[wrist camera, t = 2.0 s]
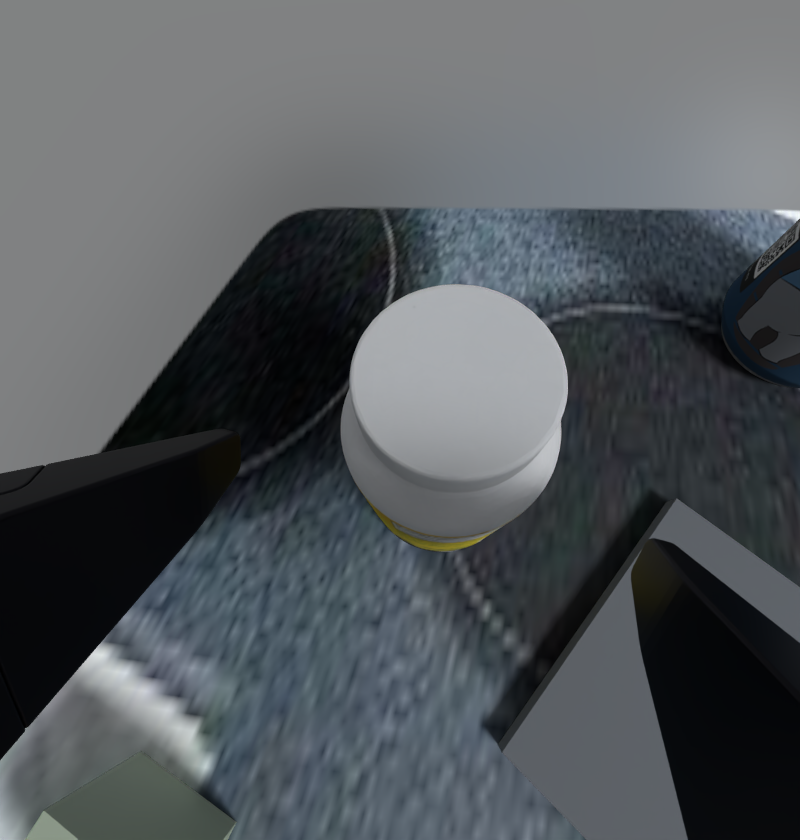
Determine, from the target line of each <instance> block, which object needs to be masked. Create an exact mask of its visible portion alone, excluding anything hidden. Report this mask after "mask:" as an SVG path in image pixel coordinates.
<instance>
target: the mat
mask: <svg viewBox="0 0 800 840" xmlns="http://www.w3.org/2000/svg"><path fill="white" fill-rule="evenodd" d="M651 538H656V539H660V540H664V541H668V542H671V543H674V544H675V545H676V546H678V547H679V548H680V549H681V550H683V551H684V552H685V553H687V554H688V555H689V556H690V557H692V558H693V559H694V560H695V561H697V562H698V563H699V564H701V565H702V566H703V567H704V568H706V569H707V570H708V571H709V572H711V573H712V574H713V575H714V576H716V577H717V578H718V579H720V580H721V581H722V582H723V583H725V584H726V585H727V586H728V587H730V588H731V589H732V590H734V591H735V592H736V593H737V594H739V595H740V596H741V597H742V598H744V599H745V600H746V601H747V602H749V603H750V604H751V605H753V606H754V607H755V608H756V609H758V610H759V611H760V612H761V613H763V614H764V615H765V616H767V617H768V618H769V619H770V620H772V621H773V622H774V623H775V624H777V625H778V626H779V627H780V628H782V629H783V630H784V631H786V632H787V633H788V634H789V635H791V636H792V637H793V638H794V639H796V640H797V641H798V642H800V587H799V586H797V585H796V584H794V583H793V582H792V581H790V580H789V579H788V578H786V577H785V576H783V575H782V574H781V573H779V572H778V571H776V570H775V569H774V568H772V567H771V566H770V565H768V564H767V563H765V562H764V561H763V560H761V559H760V558H758V557H757V556H756V555H754V554H753V553H752V552H750V551H749V550H747V549H746V548H745V547H743V546H742V545H740V544H739V543H738V542H736V541H735V540H734V539H732V538H731V537H729V536H728V535H727V534H725V533H724V532H722V531H721V530H720V529H718V528H717V527H716V526H714V525H713V524H711V523H710V522H709V521H707V520H706V519H704V518H703V517H702V516H700V515H699V514H698V513H696V512H695V511H693V510H692V509H691V508H689V507H688V506H686V505H685V504H684V503H682V502H681V501H680V500H678V499H674V500H671V501H668V502H666V503H665V505H664V506H663V507H662V509H661V510H660V512H659V513H658V515H657V516H656V518H655V519H654V520H653V522H652V523H651V525H650V526H649V528H648V529H647V531H646V532H645V533H644V535H643V536H642V538H641V539H640V541H639V542H638V543H637V545H636V546H635V548H634V549H633V551H632V552H631V554H630V555H629V556H628V558H627V559H626V561H625V562H624V564H623V565H622V567H621V568H620V569H619V571H618V572H617V574H616V575H615V577H614V578H613V579H612V581H611V582H610V584H609V585H608V587H607V588H606V590H605V591H604V592H603V594H602V595H601V597H600V598H599V600H598V601H597V603H596V604H595V605H594V607H593V608H592V610H591V611H590V613H589V614H588V615H587V617H586V618H585V620H584V621H583V623H582V624H581V626H580V627H579V628H578V630H577V631H576V633H575V634H574V636H573V637H572V639H571V640H570V641H569V643H568V644H567V646H566V647H565V649H564V650H563V651H562V653H561V654H560V656H559V657H558V659H557V660H556V662H555V663H554V664H553V666H552V667H551V669H550V670H549V672H548V673H547V675H546V676H545V677H544V679H543V680H542V682H541V683H540V685H539V686H538V687H537V689H536V690H535V692H534V693H533V695H532V696H531V698H530V699H529V700H528V702H527V703H526V705H525V706H524V708H523V709H522V711H521V712H520V713H519V715H518V716H517V718H516V719H515V721H514V722H513V724H512V725H511V726H510V728H509V729H508V731H507V732H506V734H505V735H504V736H503V738H502V739H501V741H500V742H499V744H498V745H499V747H500V749H501V752H502V753H503V754H504V755H505V756H506V757H507V758H508V759H509V760H510V761H511V762H512V763H513V764H514V765H515V766H516V768H517V769H518V770H519V771H520V772H521V773H522V774H523V775H524V776H525V777H526V778H527V779H528V780H529V781H530V782H531V783H532V784H533V785H534V786H535V787H536V788H537V789H538V790H539V791H540V792H541V793H542V794H543V795H544V796H545V797H546V798H547V800H548V801H549V802H550V803H551V804H552V805H553V806H554V807H555V808H556V809H557V810H558V811H559V812H560V813H561V814H562V815H563V816H564V817H565V818H566V819H567V820H568V821H569V822H570V823H571V824H572V825H573V826H574V827H575V828H576V829H577V830H578V831H579V833H580V834H581V835H582V836H583V837H584V838H585V839H586V840H688V839H687V835H686V831H685V827H684V823H683V819H682V815H681V811H680V807H679V803H678V799H677V795H676V791H675V787H674V783H673V779H672V775H671V771H670V767H669V763H668V759H667V755H666V751H665V747H664V743H663V739H662V735H661V731H660V727H659V723H658V719H657V715H656V711H655V707H654V703H653V699H652V695H651V691H650V687H649V683H648V679H647V675H646V671H645V667H644V663H643V659H642V654H641V650H640V644H639V637H638V630H637V622H636V615H635V607H634V600H633V592H632V585H631V571H632V568H633V566H634V564H635V562H636V560H637V558H638V556H639V554H640V552H641V550H642V548H643V547H644V545H645V543H646V542H647V541H648V540H649V539H651Z"/></svg>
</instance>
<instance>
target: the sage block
mask: <svg viewBox="0 0 800 840" xmlns="http://www.w3.org/2000/svg"><path fill="white" fill-rule="evenodd" d="M235 824H236V821H234V820H233V819H232V818H230V817H229V816H228V815H226V814H225V813H224V812H222V811H221V810H220V809H218V808H217V807H216V806H214V805H213V804H212V803H210V802H209V801H208V800H206V799H205V798H204V797H202V796H201V795H200V794H198V793H197V792H196V791H194V790H193V789H192V788H190V787H189V786H188V785H186V784H185V783H184V782H182V781H181V780H180V779H178V778H177V777H176V776H174V775H173V774H171V773H170V772H169V771H167V770H166V769H165V768H163V767H162V766H161V765H159V764H158V763H157V762H155V761H154V760H153V759H151V758H150V757H149V756H147V755H146V754H145V753H143V752H142V751H140V752H139V753H137V754H135V755H134V756H132V757H130V758H129V759H127V760H126V761H124V762H122V763H121V764H119V765H117V766H116V767H114V768H112V769H111V770H109V771H107V772H106V773H104V774H103V775H101V776H99V777H98V778H96V779H94V780H93V781H91V782H89V783H88V784H86V785H84V786H83V787H81V788H79V789H78V790H76V791H75V792H73V793H71V794H70V795H68V796H66V797H65V798H63V799H61V800H60V801H58V802H56V803H55V804H53V805H52V806H50V807H48V808H47V809H45V810H43V812H42V814H41V815H40V817H39V818H38V820H37V822H36V823H35V825H34V826H33V828H32V829H31V831H30V833H29V834H28V836H27V837H26V839H25V840H228V838H229V836H230V834H231V832H232V830H233V828H234V826H235Z"/></svg>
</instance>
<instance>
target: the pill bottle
mask: <svg viewBox="0 0 800 840" xmlns="http://www.w3.org/2000/svg"><path fill="white" fill-rule="evenodd" d="M349 386H350V388H349V390H348V393H347V396H346V399H345V402H344V406H343V410H342V416H341V443H342V449H343V453H344V457H345V460H346V463H347V466H348V468H349V471H350V473H351V475H352V477H353V480H354V481H355V483H356V485H357V487H358V488H359V490H360V491H361V492H362V494H363V495H364V497H365V498H366V500H367V501H368V503H369V504H370V505H371V507H372V508H373V509H374V511H375V512H376V514H377V515H378V516H379V518H380V519H381V520H382V521H383V523H384V524H385V525H386V526H387V527H388V528H389V529H390V530H391V531H392V532H393V533H394V534H395V535H396V536H397V537H399V538H400V539H401V540H403V541H405V542H406V543H408V544H410V545H413V546H415V547H417V548H420V549H424V550H428V551H434V552H448V551H455V550H459V549H463V548H466V547H469V546H471V545H473V544H475V543H477V542H479V541H481V540H482V539H484V538H485V537H487V536H488V535H490V534H491V533H493V532H494V531H496V530H497V529H499V528H500V527H502V526H504V525H505V524H507V523H509V522H510V521H512V520H513V519H514V518H516V517H517V516H519V515H520V514H521V513H522V512H524V511H525V510H526V509H527V508H528V507H529V506H530V505H531V504H532V503H533V502H534V501H535V500H536V499H537V497H538V496H539V495H540V493H541V492H542V491H543V490H544V488H545V486H546V485H547V483H548V481H549V479H550V477H551V475H552V473H553V471H554V468H555V465H556V462H557V459H558V454H559V450H560V443H561V418H562V415H563V412H564V409H565V405H566V401H567V394H568V378H567V370H566V365H565V362H564V358H563V355H562V352H561V350H560V348H559V346H558V343H557V342H556V340H555V338H554V336H553V335H552V333H551V332H550V330H549V329H548V328H547V326H546V325H545V324H544V323H543V322H542V321H541V320H540V319H539V318H538V317H537V316H536V315H535V314H534V313H533V312H532V311H531V310H530V309H528V308H527V307H525V306H524V305H523V304H521V303H520V302H518V301H517V300H515V299H513V298H511V297H509V296H507V295H505V294H502V293H500V292H497V291H494V290H491V289H488V288H484V287H480V286H473V285H461V284H451V285H440V286H434V287H429V288H426V289H422V290H419V291H416V292H413V293H410V294H408V295H406V296H404V297H402V298H401V299H399V300H397V301H395V302H394V303H392V304H391V305H390V306H388V307H387V308H386V309H384V310H383V311H382V312H381V313H380V314H379V315H378V316H377V317H376V318H375V319H374V320H373V321H372V322H371V324H370V325H369V326H368V327H367V329H366V330H365V332H364V333H363V335H362V336H361V338H360V340H359V342H358V344H357V347H356V349H355V352H354V355H353V358H352V362H351V368H350V379H349Z"/></svg>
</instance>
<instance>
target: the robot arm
mask: <svg viewBox="0 0 800 840" xmlns="http://www.w3.org/2000/svg"><path fill="white" fill-rule="evenodd" d="M240 465H241V446H240V436H239V434H238V433H237V432H235V431H231V430H227V429H215V430H210V431H206V432H201V433H196V434H191V435H186V436H181V437H177V438H172V439H167V440H162V441H157V442H152V443H148V444H143V445H138V446H133V447H128V448H123V449H119V450H114V451H109V452H104V453H99V454H94V455H90V456H85V457H80V458H75V459H70V460H65V461H61V462H56V463H51V464H48V465H46V466H43V465H41V466H36V467H31V468H26V469H21V470H17V471H11V472H6V473H2V474H0V760H1V759H2V757H3V756H4V755H5V754H6V753H7V752H8V750H9V749H10V748H11V747H12V746H13V745H14V743H15V742H16V741H17V740H18V739H19V738H20V736H21V735H22V734H23V733H24V732H25V728H27V727H29V726H30V724H31V723H32V722H33V721H34V720H35V719H36V717H37V716H38V715H39V714H40V713H41V712H42V710H43V709H44V708H45V707H46V706H47V705H48V703H49V702H50V701H51V700H52V699H53V698H54V696H55V695H56V694H57V693H58V692H59V691H60V689H61V688H62V687H63V686H64V685H65V684H66V682H67V681H68V680H69V679H70V678H71V677H72V675H73V674H74V673H75V672H76V671H77V670H78V668H79V667H80V666H81V665H82V664H83V663H84V662H85V660H86V659H87V658H88V657H89V656H90V655H91V653H92V652H93V651H94V650H95V649H96V648H97V646H98V645H99V644H100V643H101V642H102V641H103V639H104V638H105V637H106V636H107V635H108V634H109V632H110V631H111V630H112V629H113V628H114V627H115V625H116V624H117V623H118V622H119V621H120V620H121V618H122V617H123V616H124V615H125V614H126V613H127V611H128V610H129V609H130V608H131V607H132V606H133V605H134V603H135V602H136V601H137V600H138V599H139V598H140V596H141V595H142V594H143V593H144V592H145V591H146V589H147V588H148V587H149V586H150V585H151V584H152V582H153V581H154V580H155V579H156V578H157V577H158V575H159V574H160V573H161V572H162V571H163V570H164V568H165V567H166V566H167V565H168V564H169V563H170V561H171V560H172V559H173V558H174V557H175V556H176V554H177V553H178V552H179V551H180V550H181V549H182V547H183V546H184V545H185V544H186V543H187V542H188V541H189V539H190V538H191V537H192V536H193V535H194V534H195V532H196V531H197V530H198V529H199V527H200V526H201V525H202V524H203V522H204V521H205V520H206V518H207V517H208V516H209V514H210V513H211V511H212V510H213V508H214V507H215V506H216V504H217V503H218V501H219V500H220V498H221V497H222V495H223V494H224V492H225V491H226V490H227V488H228V487H229V485H230V484H231V482H232V481H233V479H234V478H235V477H236V475H237V473H238V472H239V469H240ZM631 585H632V592H633V600H634V607H635V615H636V622H637V630H638V637H639V644H640V650H641V654H642V659H643V663H644V667H645V671H646V675H647V679H648V683H649V687H650V691H651V695H652V699H653V703H654V707H655V711H656V715H657V719H658V723H659V727H660V731H661V735H662V739H663V743H664V747H665V751H666V755H667V759H668V763H669V767H670V771H671V775H672V779H673V783H674V787H675V791H676V795H677V799H678V803H679V807H680V811H681V815H682V819H683V823H684V827H685V831H686V835H687V839H688V840H800V642H798V641H797V640H796V639H794V638H793V637H792V636H791V635H789V634H788V633H787V632H786V631H784V630H783V629H782V628H780V627H779V626H778V625H777V624H775V623H774V622H773V621H772V620H770V619H769V618H768V617H767V616H765V615H764V614H763V613H761V612H760V611H759V610H758V609H756V608H755V607H754V606H753V605H751V604H750V603H749V602H747V601H746V600H745V599H744V598H742V597H741V596H740V595H739V594H737V593H736V592H735V591H734V590H732V589H731V588H730V587H728V586H727V585H726V584H725V583H723V582H722V581H721V580H720V579H718V578H717V577H716V576H714V575H713V574H712V573H711V572H709V571H708V570H707V569H706V568H704V567H703V566H702V565H701V564H699V563H698V562H697V561H695V560H694V559H693V558H692V557H690V556H689V555H688V554H687V553H685V552H684V551H683V550H681V549H680V548H679V547H678V546H676V545H675V544H674V543H671V542H668V541H664V540H660V539H656V538H651V539H649V540H648V541H647V542H646V543H645V545H644V547H643V548H642V550H641V552H640V554H639V556H638V558H637V560H636V562H635V564H634V566H633V568H632V571H631Z"/></svg>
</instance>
